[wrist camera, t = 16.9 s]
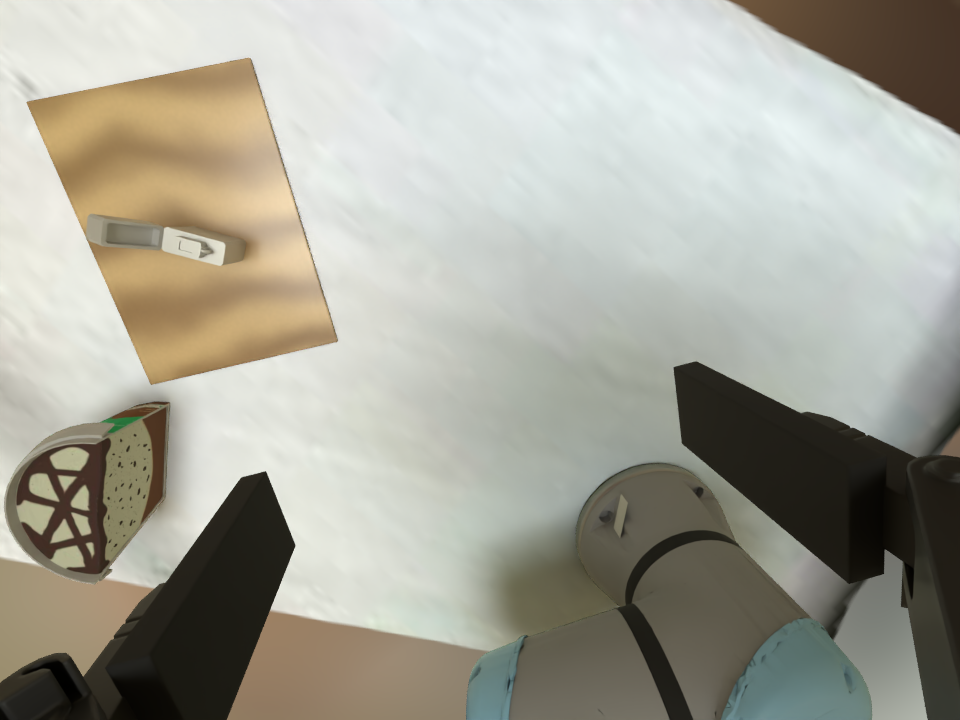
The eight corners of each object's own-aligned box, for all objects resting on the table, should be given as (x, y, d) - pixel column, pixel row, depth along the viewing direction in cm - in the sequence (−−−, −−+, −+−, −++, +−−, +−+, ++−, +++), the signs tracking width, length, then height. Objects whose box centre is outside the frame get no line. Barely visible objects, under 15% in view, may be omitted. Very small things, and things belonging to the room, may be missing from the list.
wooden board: (337, 340, 42) (337, 341, 42) (152, 383, 41) (150, 384, 41) (250, 58, 36) (249, 57, 35) (29, 102, 35) (25, 101, 35)
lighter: (246, 240, 39) (203, 245, 31) (242, 261, 39) (199, 271, 32) (151, 214, 38) (82, 213, 30) (148, 236, 38) (79, 240, 30)
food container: (91, 375, 41) (-11, 422, 31) (170, 386, 42) (95, 435, 32) (90, 503, 44) (-2, 583, 34) (164, 511, 45) (94, 590, 35)
